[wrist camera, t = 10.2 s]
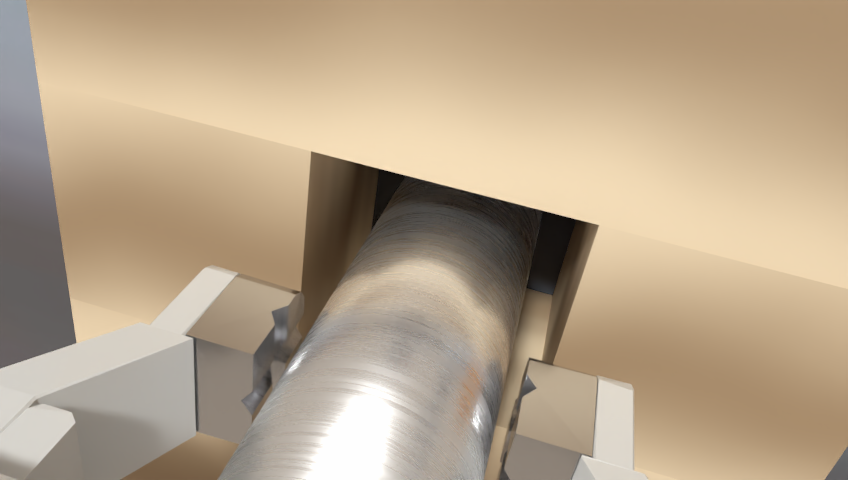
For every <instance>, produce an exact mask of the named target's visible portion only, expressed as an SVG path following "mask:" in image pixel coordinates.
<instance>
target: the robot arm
mask: <svg viewBox="0 0 848 480" xmlns="http://www.w3.org/2000/svg"><path fill="white" fill-rule="evenodd" d="M304 299H305V297H304V295H303V294H302V292H300V291H297V290H293V289H290V288H287V287H284V286H281V285H277V284H274V283H271V282H268V281H264V280H261V279H258V278H255V277H252V276H248V275H245V274H240V273H237V272H234V271H230V270H227V269H224V268H221V267H217V266H214V265H211V266H208V267H205V268H204V269H203V270H202V271H201V272H200V273H199V274H198V275H197V276H196V277H195V278H194V279H193V280H192V281H191V282H190V283H189V284H188V285H187V286H186V287H185V288H184V289H183V290H182V291H181V292H180V293H179V295H178V296H177V297H176V298H175V299H174V300H173V301H172V302H171V303H170V304H169V305H168V306H167V307H166V308H165V309H164V310H163V311H162V312H161V313H160V314H159V315H158V316H157V317H156V319H155V320H154V321H153V322H152V323H151V324H150V325H148V324H144V323H141V322H140V323H137V324H134V325H131V326H128V327H125V328H122V329H119V330H116V331H113V332H110V333H107V334H104V335H101V336H98V337H95V338H92V339H89V340H86V341H82V342H79V343H76V344H73V345H70V346H67V347H64V348H61V349H58V350H55V351H52V352H49V353H46V354H43V355H40V356H37V357H34V358H31V359H28V360H25V361H22V362H19V363H16V364H13V365H10V366H7V367H4V368H1V369H0V480H120V479H122V478H124V477H126V476H127V475H129V474H131V473H132V472H134V471H136V470H137V469H139V468H141V467H143V466H144V465H146V464H148V463H149V462H151V461H153V460H155V459H156V458H158V457H160V456H161V455H163V454H165V453H166V452H168V451H170V450H172V449H173V448H175V447H177V446H178V445H180V444H182V443H184V442H185V441H187V440H189V439H190V438H192V437H194V436H196V432H199V433H202V434H206V435H209V436H213V437H216V438H220V439H223V440H226V441H230V442H233V443H237V444H240V442H241V441H242V439H243V437H244V436H245V434H246V433H247V431H248V429H249V428H250V426H251V424H252V423H253V421H254V420H255V418H256V416H257V415H258V413H259V412H260V410H261V408H262V407H263V405H264V403H265V402H266V400H267V399H268V397H269V395H270V394H271V392H272V391H273V389H274V387H275V386H276V384H277V382H278V381H279V379H280V378H281V376H282V374H283V373H284V371H285V370H286V368H287V366H288V365H289V363H290V361H291V360H292V358H293V357H294V355H295V353H296V352H297V350H298V349H299V347H300V345H301V344H302V336H301V334H300V332H299V331H298V329H297V327H296V325H297V324H298V322H299V321H300V319H301V318H302V316H303V315H304ZM500 462H501V466H500V469H499V473H498V476H497V479H496V480H649V479H648V478H647V476H646V475H645V474H643V473H640V472H637V471H634V388H633V387H632V385H631V384H629V383H625V382H621V381H617V380H613V379H609V378H606V377H602V376H598V375H597V376H595V375H591V374H588V373H584V372H580V371H577V370H573V369H570V368H566V367H562V366H559V365H555V364H552V363H548V362H545V361H541V360H537V359H534V358H530V357H529V359H528V362H527V365H526V368H525V371H524V374H523V377H522V382H521V386H520V391H519V396H518V398H517V399H516V400H515V403H514V407H513V410H512V414H511V417H510V421H509V424H508V428H507V431H506V435H505V440H504V444H503V449H502V453H501V458H500Z"/></svg>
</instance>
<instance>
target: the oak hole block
mask: <svg viewBox="0 0 848 480" xmlns="http://www.w3.org/2000/svg"><path fill="white" fill-rule="evenodd" d="M26 3H27V10H28V16H29V23H30V30H31V37H32V44H33V50H34V57H35V64H36V71H37V77H38V84H39V91H40V98H41V104H42V111H43V118H44V125H45V131H46V138H47V145H48V152H49V158H50V165H51V172H52V179H53V185H54V192H55V199H56V206H57V213H58V219H59V226H60V233H61V240H62V246H63V253H64V260H65V267H66V273H67V280H68V287H69V294H70V300H71V307H72V314H73V321H74V327H75V334H76V341H77V343H79V342H82V341H86V340H89V339H92V338H95V337H98V336H101V335H104V334H107V333H110V332H113V331H116V330H119V329H122V328H125V327H128V326H131V325H134V324H137V323H140V322H141V323H144V324H148V325H150V324H151V323H152V322H153V321H154V320H155V319H156V317H157V316H158V315H159V314H160V313H161V312H162V311H163V310H164V309H165V308H166V307H167V306H168V305H169V304H170V303H171V302H172V301H173V300H174V299H175V298H176V297H177V296H178V295H179V293H180V292H181V291H182V290H183V289H184V288H185V287H186V286H187V285H188V284H189V283H190V282H191V281H192V280H193V279H194V278H195V277H196V276H197V275H198V274H199V273H200V272H201V271H202V270H203V269H204V268H205V267H208V266H211V265H214V266H217V267H221V268H224V269H227V270H230V271H234V272H237V273H240V274H245V275H248V276H252V277H255V278H258V279H261V280H264V281H268V282H271V283H274V284H277V285H281V286H284V287H287V288H290V289H293V290H297V291H300V292H302V294H303V295H304V297H305V299H304V315H303V316H302V318H301V319H300V321H299V322H298V324H297V325H296V327H297V329H298V331H299V332H300V334H301V336H302V342H303V340H304V339H305V337H306V336H307V334H308V332H309V331H310V329H311V328H312V326H313V324H314V323H315V321H316V319H317V318H318V316H319V315H320V313H321V311H322V310H323V308H324V307H325V305H326V303H327V302H328V300H329V298H330V297H331V295H332V294H333V292H334V290H335V289H336V287H337V286H338V284H339V282H340V281H341V279H342V277H343V276H344V274H345V273H346V271H347V269H348V268H349V266H350V265H351V263H352V261H353V260H354V258H355V256H356V255H357V253H358V252H359V250H360V248H361V247H362V245H363V244H364V242H365V240H366V239H367V237H368V235H369V234H370V232H371V229H372V221H373V214H374V206H375V199H376V191H377V184H378V176H379V169H382V170H386V171H390V172H394V173H398V174H402V175H406V176H410V177H413V178H417V179H421V180H425V181H429V182H433V183H437V184H441V185H445V186H448V187H452V188H456V189H460V190H464V191H468V192H472V193H476V194H480V195H484V196H487V197H491V198H495V199H499V200H503V201H507V202H511V203H515V204H519V205H522V206H526V207H530V208H534V209H538V210H542V211H546V212H550V213H554V214H557V215H561V216H565V217H569V218H573V219H576V222H575V226H574V229H573V232H572V235H571V238H570V242H569V245H568V248H567V251H566V254H565V257H564V261H563V264H562V267H561V270H560V273H559V277H558V280H557V283H556V286H555V289H554V293H553V295H550V294H546V293H543V292H539V291H535V290H531V289H528V288H526V291H525V295H524V300H523V305H522V309H521V314H520V318H519V323H518V327H517V332H516V336H515V341H514V345H513V350H512V354H511V359H510V363H509V368H508V372H507V377H506V381H505V386H504V390H503V395H502V400H501V404H500V409H499V413H498V418H497V422H496V427H495V431H494V436H493V440H492V445H491V449H490V454H489V458H488V463H487V467H486V472H485V476H484V480H496V479H497V476H498V473H499V469H500V466H501V462H500V458H501V453H502V449H503V444H504V440H505V435H506V431H507V428H508V424H509V421H510V417H511V414H512V410H513V407H514V403H515V400H516V399H517V398H518V396H519V391H520V386H521V382H522V377H523V374H524V371H525V368H526V365H527V362H528V359H529V357H530V358H534V359H537V360H541V361H545V362H548V363H552V364H555V365H559V366H562V367H566V368H570V369H573V370H577V371H580V372H584V373H588V374H591V375H595V376H597V375H598V376H602V377H606V378H609V379H613V380H617V381H621V382H625V383H629V384H631V385H632V387H633V388H634V471H637V472H640V473H643V474H645V475H646V476H647V478H648V479H649V480H824V479H825V478H826V477H827V475H828V474H829V472H830V471H831V469H832V468H833V466H834V465H835V464H836V462H837V461H838V459H839V458H840V456H841V455H842V454H843V452H844V451H845V449H846V448H847V446H848V0H26ZM238 445H239V444H237V443H233V442H230V441H226V440H223V439H220V438H216V437H213V436H209V435H206V434H202V433H199V432H196V436H194V437H192V438H190V439H189V440H187V441H185V442H184V443H182V444H180V445H178V446H177V447H175V448H173V449H172V450H170V451H168V452H166V453H165V454H163V455H161V456H160V457H158V458H156V459H155V460H153V461H151V462H149V463H148V464H146V465H144V466H143V467H141V468H139V469H137V470H136V471H134V472H132V473H131V474H129V475H127V476H126V477H124V478H122V479H120V480H217V479H218V478H219V476H220V475H221V473H222V471H223V470H224V468H225V466H226V465H227V463H228V462H229V460H230V458H231V457H232V455H233V454H234V452H235V450H236V449H237V447H238Z"/></svg>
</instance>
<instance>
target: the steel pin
mask: <svg viewBox="0 0 848 480" xmlns="http://www.w3.org/2000/svg"><path fill="white" fill-rule="evenodd" d="M542 214H543V211H542V210H538V209H534V208H530V207H526V206H522V205H519V204H515V203H511V202H507V201H503V200H499V199H495V198H491V197H487V196H484V195H480V194H476V193H472V192H468V191H464V190H460V189H456V188H452V187H448V186H445V185H441V184H437V183H433V182H429V181H425V180H421V179H417V178H413V177H410V176H405V177H404V179H403V181H402V182H401V184H400V185H399V187H398V189H397V190H396V192H395V193H394V195H393V197H392V198H391V200H390V202H389V203H388V205H387V206H386V208H385V210H384V211H383V213H382V214H381V216H380V218H379V219H378V221H377V223H376V224H375V226H374V227H373V229H372V231H371V232H370V234H369V235H368V237H367V239H366V240H365V242H364V244H363V245H362V247H361V248H360V250H359V252H358V253H357V255H356V256H355V258H354V260H353V261H352V263H351V265H350V266H349V268H348V269H347V271H346V273H345V274H344V276H343V277H342V279H341V281H340V282H339V284H338V286H337V287H336V289H335V290H334V292H333V294H332V295H331V297H330V298H329V300H328V302H327V303H326V305H325V307H324V308H323V310H322V311H321V313H320V315H319V316H318V318H317V319H316V321H315V323H314V324H313V326H312V328H311V329H310V331H309V332H308V334H307V336H306V337H305V339H304V340H303V342H302V344H301V345H300V347H299V349H298V350H297V352H296V353H295V355H294V357H293V358H292V360H291V361H290V363H289V365H288V366H287V368H286V370H285V371H284V373H283V374H282V376H281V378H280V379H279V381H278V382H277V384H276V386H275V387H274V389H273V391H272V392H271V394H270V395H269V397H268V399H267V400H266V402H265V403H264V405H263V407H262V408H261V410H260V412H259V413H258V415H257V416H256V418H255V420H254V421H253V423H252V424H251V426H250V428H249V429H248V431H247V433H246V434H245V436H244V437H243V439H242V441H241V442H240V444H239V445H238V447H237V449H236V450H235V452H234V454H233V455H232V457H231V458H230V460H229V462H228V463H227V465H226V466H225V468H224V470H223V471H222V473H221V475H220V476H219V478H218V479H217V480H484V476H485V472H486V467H487V463H488V458H489V454H490V449H491V445H492V440H493V436H494V431H495V427H496V422H497V418H498V413H499V409H500V404H501V400H502V395H503V390H504V386H505V381H506V377H507V372H508V368H509V363H510V359H511V354H512V350H513V345H514V341H515V336H516V332H517V327H518V323H519V318H520V314H521V309H522V305H523V300H524V295H525V291H526V286H527V282H528V277H529V273H530V268H531V264H532V259H533V255H534V250H535V246H536V241H537V237H538V232H539V228H540V223H541V219H542Z"/></svg>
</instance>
